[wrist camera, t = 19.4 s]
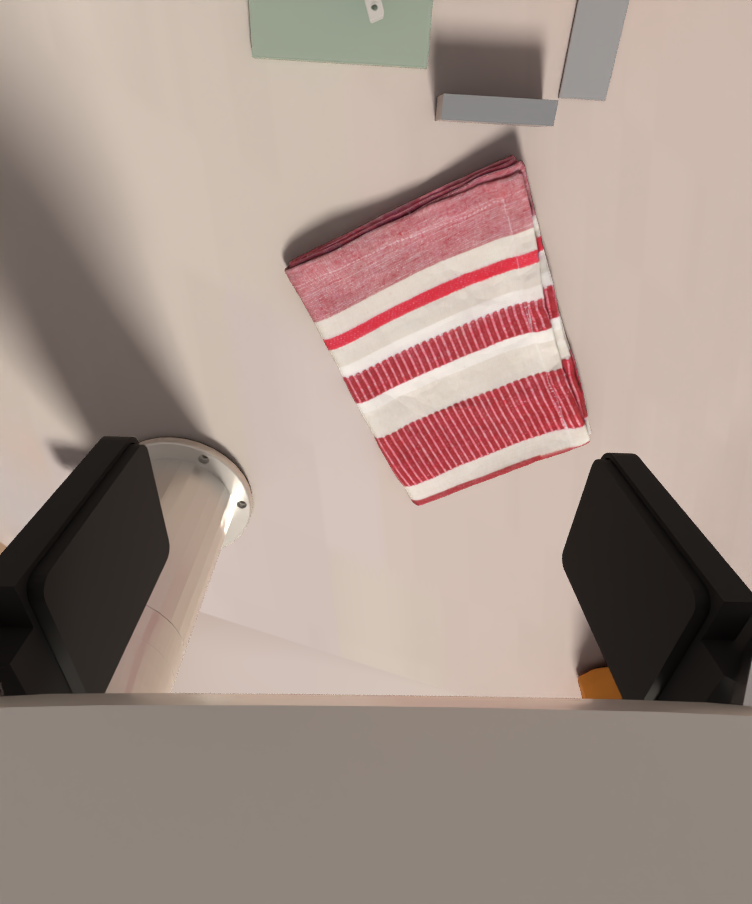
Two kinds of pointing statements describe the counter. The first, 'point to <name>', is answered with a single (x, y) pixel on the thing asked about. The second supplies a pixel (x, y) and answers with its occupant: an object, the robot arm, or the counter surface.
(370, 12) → the black stemmed piece
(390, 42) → the pad
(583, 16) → the cradle
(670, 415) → the counter surface
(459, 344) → the dish towel
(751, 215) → the counter surface
